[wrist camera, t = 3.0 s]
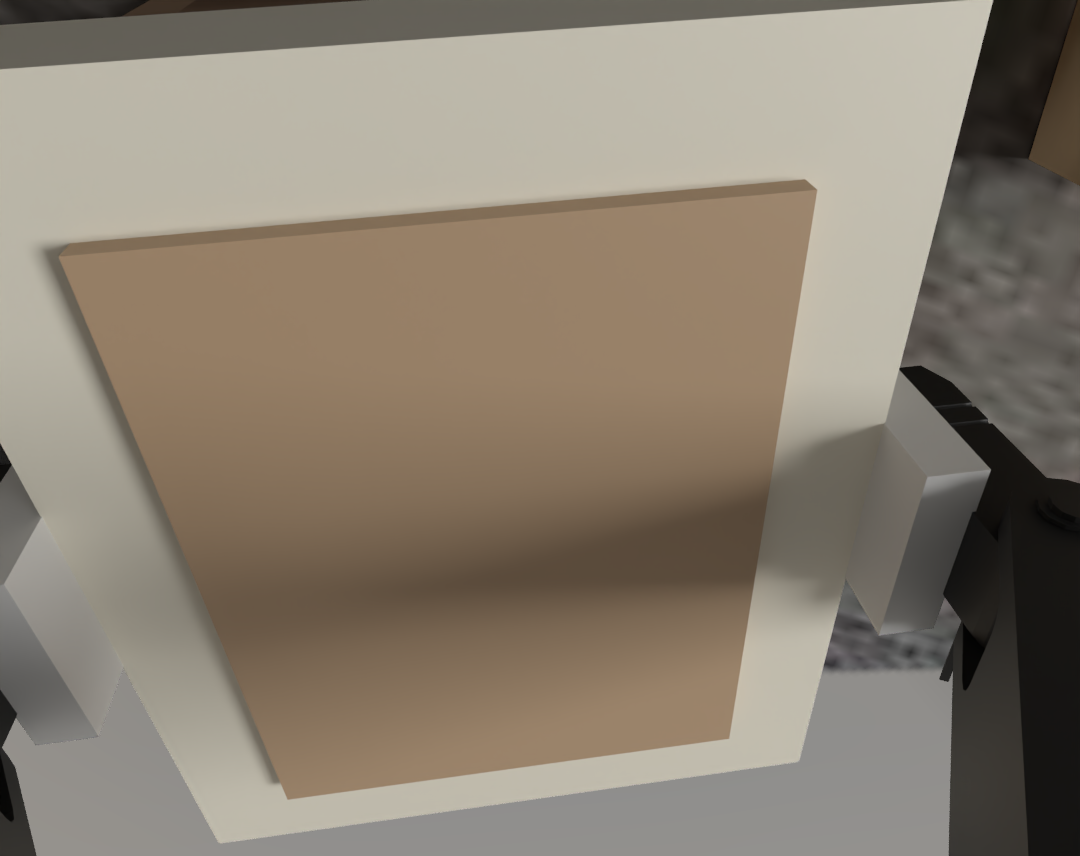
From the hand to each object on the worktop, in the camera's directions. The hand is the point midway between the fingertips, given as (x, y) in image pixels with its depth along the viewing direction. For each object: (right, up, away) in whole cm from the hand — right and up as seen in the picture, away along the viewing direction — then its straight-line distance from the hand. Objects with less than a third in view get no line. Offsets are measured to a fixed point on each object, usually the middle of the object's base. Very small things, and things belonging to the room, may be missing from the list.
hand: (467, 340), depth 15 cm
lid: (0, -2, -2) cm, 3 cm away
